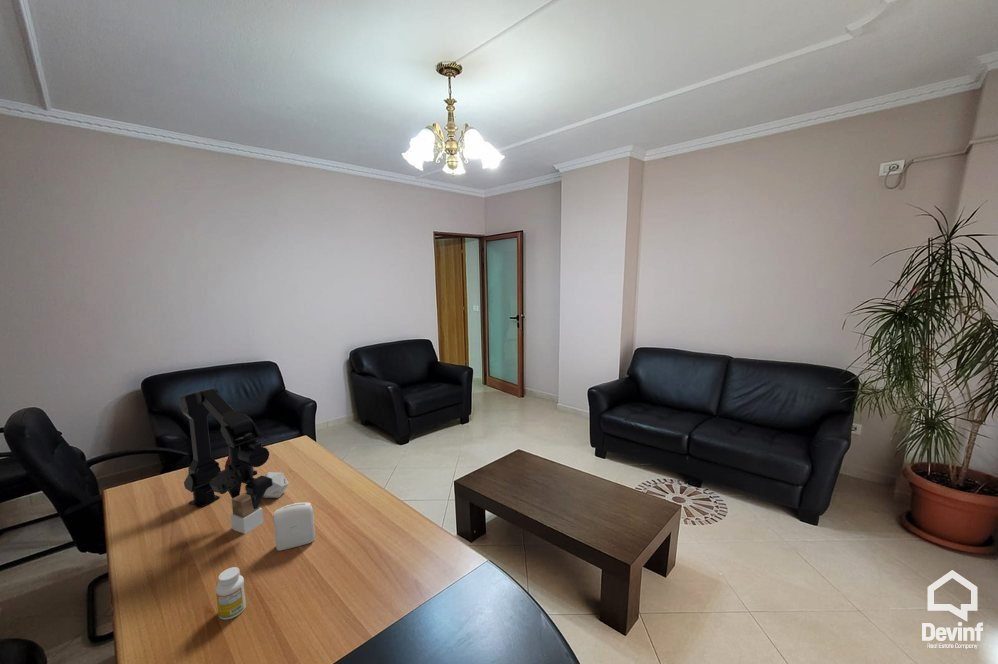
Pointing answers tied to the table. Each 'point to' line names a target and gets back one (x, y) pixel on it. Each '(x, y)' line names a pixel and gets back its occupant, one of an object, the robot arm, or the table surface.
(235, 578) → the supplement bottle
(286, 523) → the photo printer
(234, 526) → the grey block
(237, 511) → the brown cube
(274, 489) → the die
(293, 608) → the table surface
